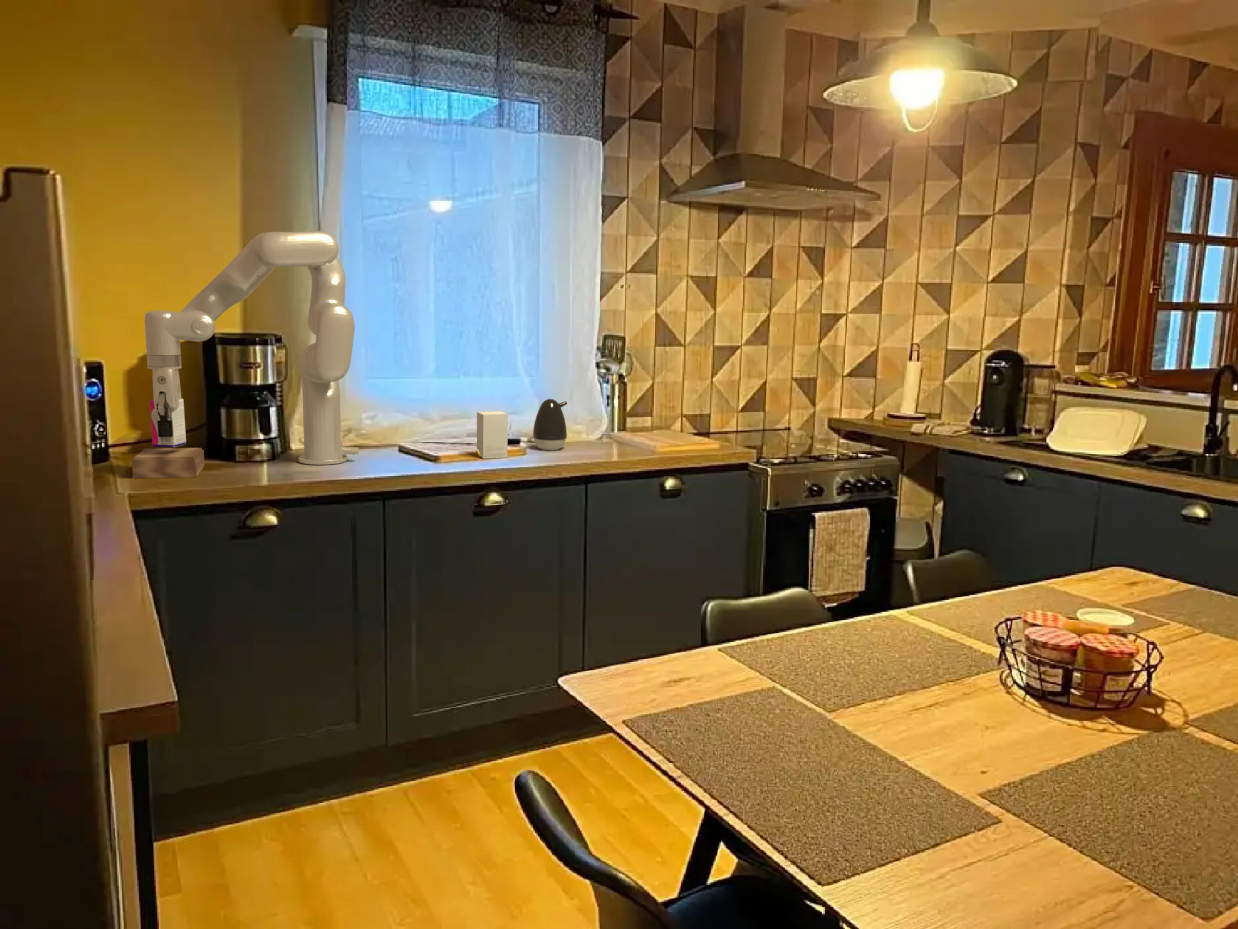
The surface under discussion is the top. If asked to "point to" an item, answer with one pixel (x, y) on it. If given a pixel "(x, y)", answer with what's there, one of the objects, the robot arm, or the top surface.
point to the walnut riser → (168, 463)
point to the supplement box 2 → (492, 434)
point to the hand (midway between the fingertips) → (168, 433)
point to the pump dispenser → (550, 426)
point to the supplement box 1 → (177, 424)
